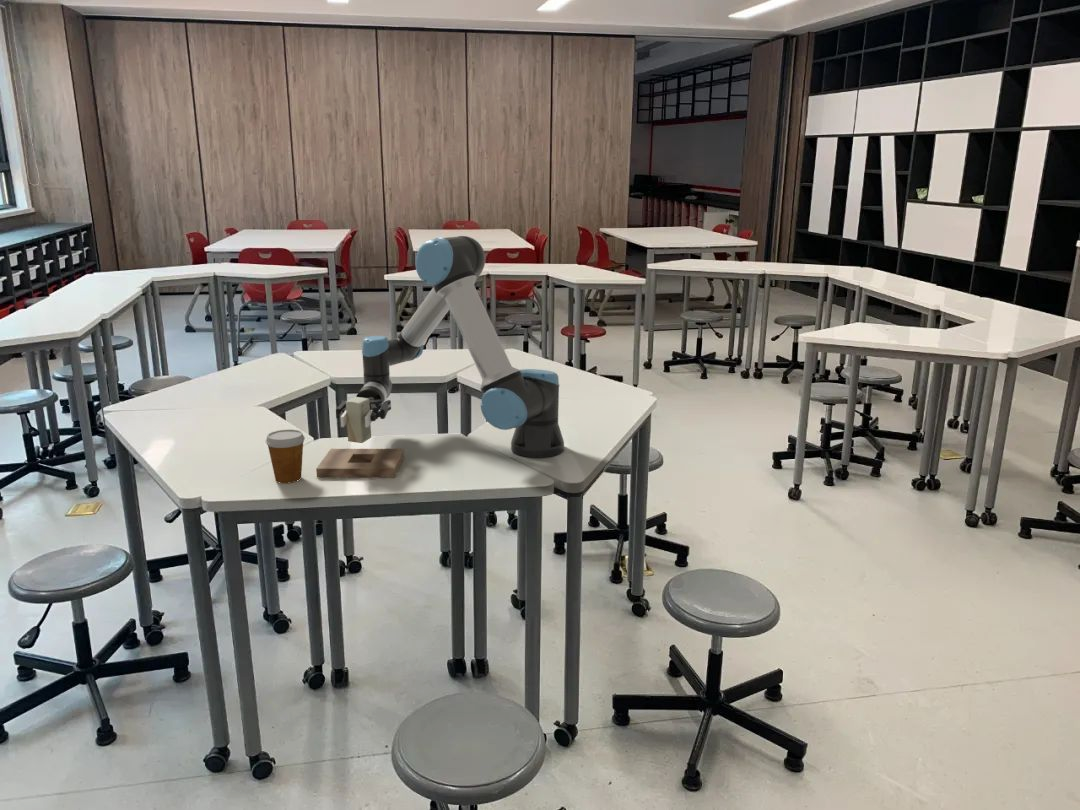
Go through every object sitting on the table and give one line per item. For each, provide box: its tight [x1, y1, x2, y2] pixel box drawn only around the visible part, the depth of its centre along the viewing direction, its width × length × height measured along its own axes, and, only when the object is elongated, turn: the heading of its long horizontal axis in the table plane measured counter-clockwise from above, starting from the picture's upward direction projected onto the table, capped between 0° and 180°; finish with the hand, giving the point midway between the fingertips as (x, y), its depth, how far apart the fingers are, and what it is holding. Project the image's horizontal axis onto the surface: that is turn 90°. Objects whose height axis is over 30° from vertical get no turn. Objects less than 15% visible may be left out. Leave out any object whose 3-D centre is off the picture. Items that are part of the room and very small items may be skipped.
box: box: [346, 396, 372, 444], centre depth 213 cm, size 5×4×11 cm
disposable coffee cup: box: [264, 428, 306, 484], centre depth 206 cm, size 10×10×12 cm
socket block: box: [316, 448, 405, 479], centre depth 216 cm, size 20×16×2 cm
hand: (354, 422), depth 208 cm, fingers closed on box, 5 cm apart
